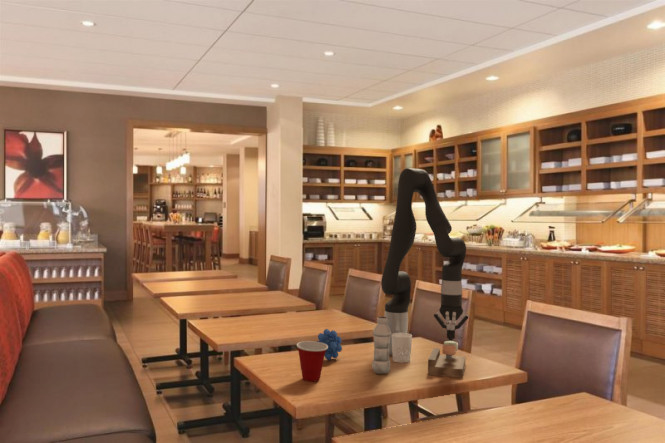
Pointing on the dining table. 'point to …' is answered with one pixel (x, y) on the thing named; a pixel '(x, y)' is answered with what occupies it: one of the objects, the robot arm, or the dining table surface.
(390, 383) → the dining table surface
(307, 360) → the plastic cup
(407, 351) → the white cup
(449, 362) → the brown wooden block
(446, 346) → the peach rounded block
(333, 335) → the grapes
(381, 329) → the plastic bottle
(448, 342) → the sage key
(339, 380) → the dining table surface
